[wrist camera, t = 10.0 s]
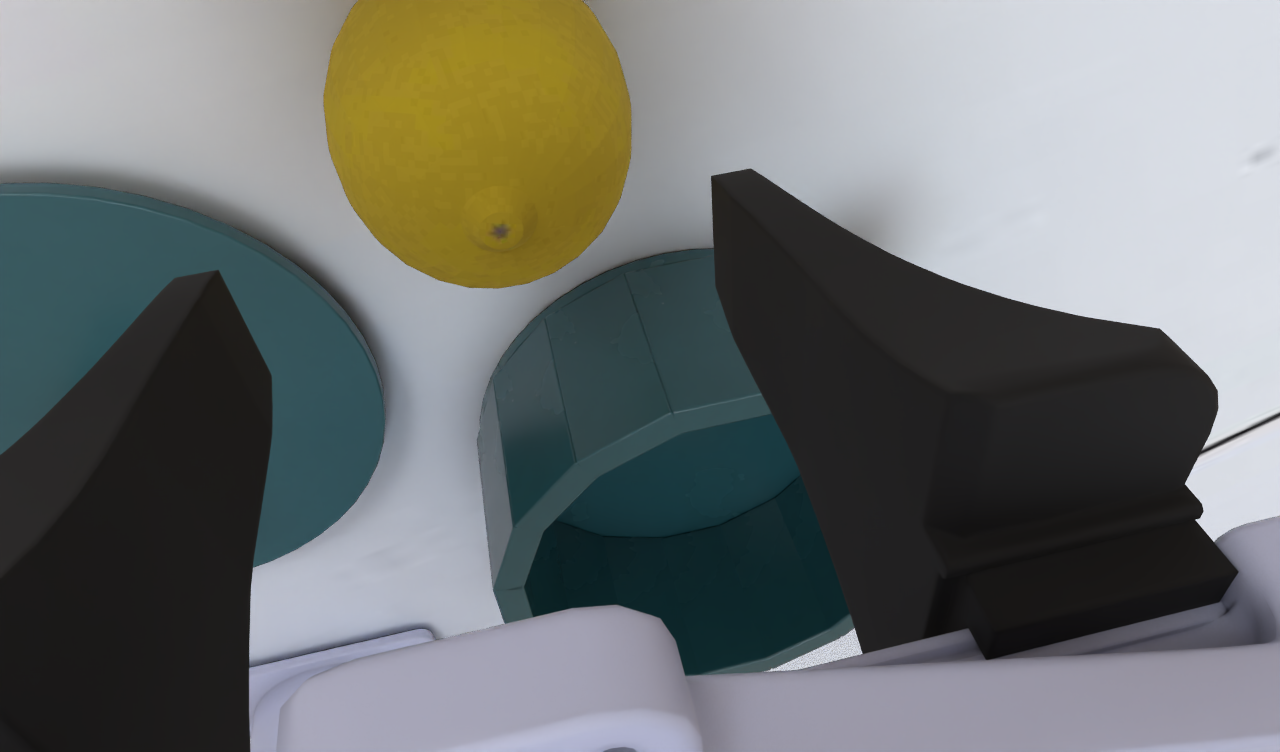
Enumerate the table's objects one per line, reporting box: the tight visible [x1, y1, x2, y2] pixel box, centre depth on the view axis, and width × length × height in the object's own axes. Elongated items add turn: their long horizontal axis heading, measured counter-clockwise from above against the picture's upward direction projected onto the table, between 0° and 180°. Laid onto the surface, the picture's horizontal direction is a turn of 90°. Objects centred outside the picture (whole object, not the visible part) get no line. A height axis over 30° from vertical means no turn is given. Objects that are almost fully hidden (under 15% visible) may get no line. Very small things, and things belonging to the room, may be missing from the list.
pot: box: [477, 249, 854, 676], centre depth 27 cm, size 13×18×6 cm
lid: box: [0, 183, 386, 567], centre depth 22 cm, size 14×14×5 cm
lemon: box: [324, 0, 631, 288], centre depth 17 cm, size 6×6×8 cm
